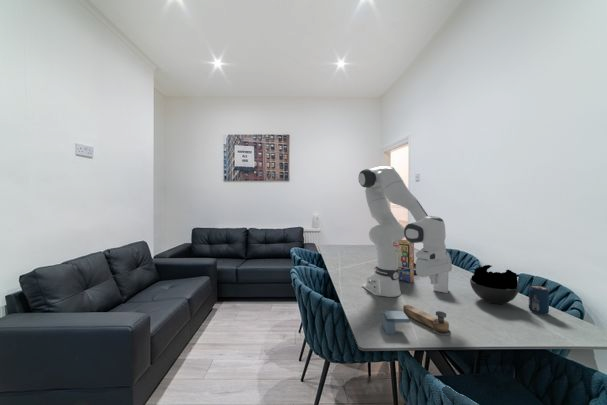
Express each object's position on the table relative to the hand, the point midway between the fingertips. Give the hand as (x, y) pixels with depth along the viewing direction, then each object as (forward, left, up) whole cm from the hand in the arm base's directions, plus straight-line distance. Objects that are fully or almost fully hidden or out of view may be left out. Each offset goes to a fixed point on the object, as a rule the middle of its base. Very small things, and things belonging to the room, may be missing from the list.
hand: (434, 283), depth 112 cm
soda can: (+19, +48, -16) cm, 54 cm away
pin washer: (+8, -8, -16) cm, 19 cm away
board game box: (-47, +28, -16) cm, 57 cm away
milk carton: (-20, +34, -16) cm, 43 cm away
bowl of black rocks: (+3, +42, -16) cm, 45 cm away
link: (0, -7, -15) cm, 17 cm away
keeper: (-1, -23, -15) cm, 28 cm away
